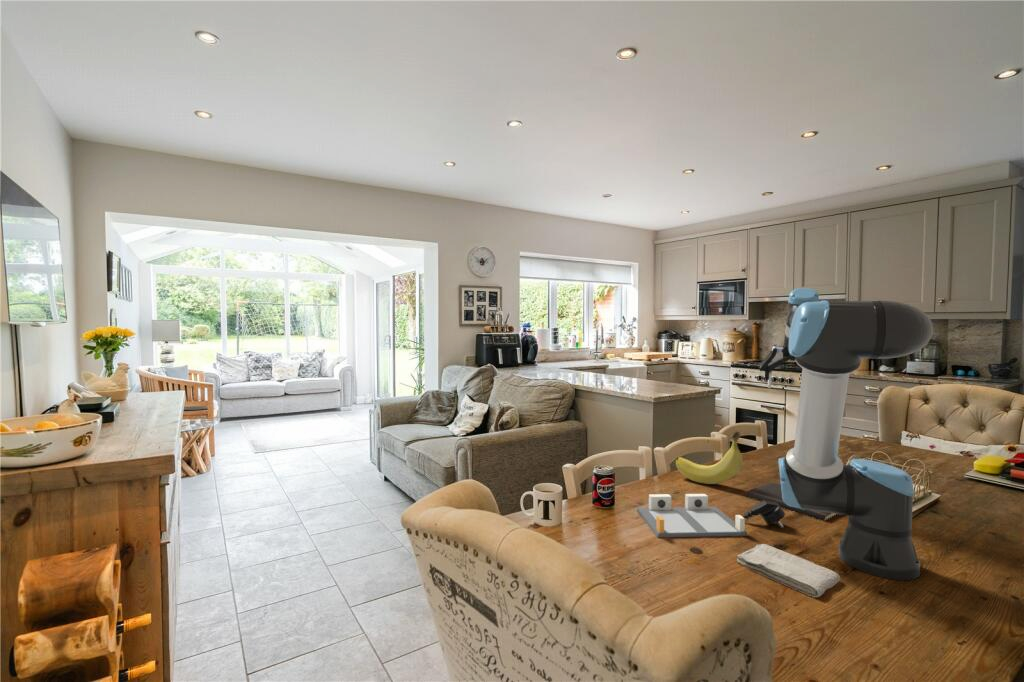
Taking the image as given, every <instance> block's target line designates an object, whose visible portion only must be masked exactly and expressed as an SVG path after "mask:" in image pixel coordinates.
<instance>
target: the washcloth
mask: <svg viewBox="0 0 1024 682" xmlns="http://www.w3.org/2000/svg"><path fill="white" fill-rule="evenodd" d="M736 562H737V563H738V564H740V565H742V566H743V567H745V568H747V569H748V570H750V571H752V572H755V573H756V574H759V575H761V576H764V577H766V578H768V579H770V580H773V581H775V582H776V583H779V584H782V585H784V586H786V587H788V588H790V589H793V590H796V591H797V590H798V592H800V593H802V594H804V593H805V594H804V595H806V594H807V596H809V597H811V596H812V597H811V598H819V597H821V596H822V595H824V594H825V592H827V590H829V589H832V588H833V587H835V586H836V584H838V583H839V582H840V580H841V577H840V575H839V573H837V572H836V571H833V570H832V569H829V568H827V567H823V566H822V565H818V564H816V563H814V562H812V561H811V560H810V561H809V560H808V559H805V558H802V557H800V556H797V555H794V554H792V553H789V552H786V551H784V550H781V549H778V548H776V547H774V546H771V545H769V544H766V543H761V544H756V545H755V546H754V547H753V548H750V549H748V550H746V551H743V552H742V553H740V554H737V559H736Z"/></svg>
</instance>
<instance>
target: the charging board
mask: <svg viewBox="0 0 1024 682" xmlns="http://www.w3.org/2000/svg"><path fill="white" fill-rule="evenodd" d="M636 512H637V513H638V515H640V517H641V518H642V520H643V521H644V522H645V523H646V524H647V526H648V527H649V528H650V530H651V531H652V532H653V534H654V535H655V537H656V538H685V537H686V538H687V537H688V538H693V537H694V538H698V537H699V538H700V537H701V538H702V537H703V538H704V537H747V536H748V531H746V529H745V521H746V518H743V516H742V515H741V514H735V516H734V517H735V521H734V520H733V519H732V518H730V516H728V515H727V514H725V513H724V511H722V510H721V509H719V508H718V507H717V506H709V495H707V494H706V493H685V497H684V506H681V507H680V506H679V507H678V506H676V507H675V506H674V507H672V495H670V494H668V493H666V494H664V493H663V494H661V493H659V494H658V493H655V494H653V493H652V494H651V493H650V494H648V507H636Z"/></svg>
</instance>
